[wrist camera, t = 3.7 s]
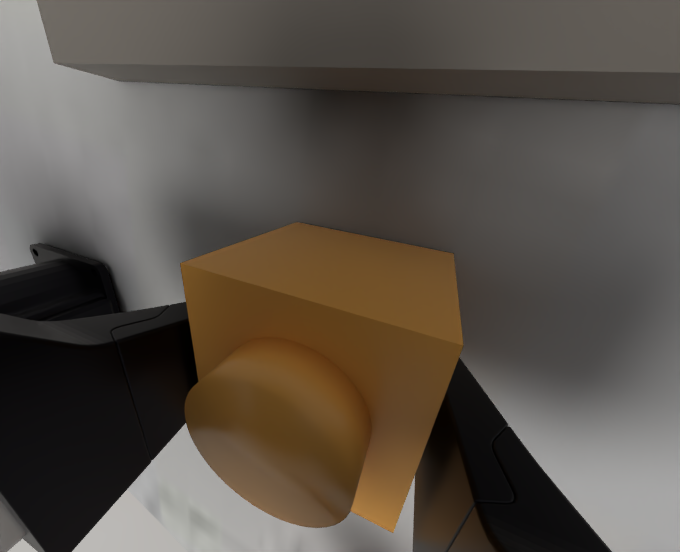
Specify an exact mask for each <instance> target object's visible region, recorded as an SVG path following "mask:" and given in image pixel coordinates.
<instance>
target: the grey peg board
mask: <svg viewBox="0 0 680 552" xmlns="http://www.w3.org/2000/svg"><path fill="white" fill-rule="evenodd" d="M37 3H38V7H39V11H40V14H41V18H42V21H43V25H44V29H45V32H46V36H47V40H48V43H49V47H50V51H51V54H52V58H53V61H54V63H55V64H59V65H63V66H66V67H70V68H73V69H77V70H81V71H84V72H88V73H92V74H95V75H99V76H103V77H106V78H110V79H114V80H117V81H131V82H155V83H180V84H204V85H228V86H253V87H277V88H302V89H326V90H350V91H375V92H399V93H423V94H448V95H472V96H497V97H521V98H545V99H570V100H594V101H619V102H643V103H667V104H680V0H37Z"/></svg>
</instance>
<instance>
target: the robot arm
mask: <svg viewBox="0 0 680 552" xmlns="http://www.w3.org/2000/svg"><path fill="white" fill-rule="evenodd" d="M30 250H31V253H32V255H33V258H34V260H35V263H36V264H33V265H29V266H24V267H20V268H16V269H11V270H7V271H2V272H0V552H7V551H8V550H9V549H11V548H12V547H13V546H14V545H15V544H16V543H18V542H19V541H20V540H21V539H22V538H23V539H24V540H25V541H26V542H27V543H29V544H30V545H31V546H32V547H33V548H34V549H36V550H37V551H38V552H72V551H73V550H74V548H75V547H76V546H77V545H78V544H79V543H80V542H81V540H82V539H83V538H84V537H85V536H86V535H87V534H88V533H89V531H90V530H91V529H92V528H93V527H94V526H95V525H96V524H97V522H98V521H99V520H100V519H101V518H102V517H103V516H104V515H105V513H106V512H107V511H108V510H109V509H110V508H111V507H112V506H113V504H114V503H115V502H116V501H117V500H118V499H119V497H121V495H122V494H123V493H124V492H125V491H126V490H127V489H128V488H129V486H130V485H131V484H132V483H133V482H134V481H135V480H136V479H137V477H138V476H139V475H140V474H141V473H142V472H143V471H144V470H145V468H146V467H147V466H148V465H149V464H150V463H151V460H153V459H154V458H155V457H156V456H157V455H158V454H159V452H160V451H161V450H162V449H163V448H164V447H165V446H166V445H167V443H168V442H169V441H170V440H171V439H172V438H173V437H174V436H175V434H176V433H177V432H178V431H179V430H180V429H181V428H182V427H183V425H184V424H185V423H186V420H185V412H184V410H185V401H186V397H187V395H188V393H189V391H190V390H191V389H192V387H193V386H194V385H196V384H197V383H198V375H197V369H196V362H195V356H194V349H193V343H192V337H191V330H190V324H189V317H188V311H187V304H186V302H183V303H177V304H172V305H170V306H169V305H166V306H160V307H155V308H149V309H143V310H137V311H130V312H123V313H120V312H119V309H118V305H117V302H116V298H115V294H114V291H113V287H112V284H111V280H110V277H109V273H108V270H107V269H106V267H105V266H104V265H103V264H102V263H100V262H97V261H94V260H91V259H88V258H85V257H82V256H79V255H75V254H72V253H69V252H66V251H63V250H60V249H57V248H54V247H51V246H48V245H45V244H42V243H38V244H33V245H30ZM413 552H612V551H611V550H610V549H609V548H608V547H607V545H606V544H605V543H604V542H603V541H602V540H601V538H600V537H599V536H598V535H597V534H596V532H595V531H594V530H593V529H592V528H591V527H590V525H589V524H588V523H587V522H586V521H585V519H584V518H583V517H582V516H581V515H580V514H579V512H578V511H577V510H576V509H575V508H574V506H573V505H572V504H571V503H570V502H569V501H568V499H567V498H566V497H565V496H564V495H563V493H562V492H561V491H560V490H559V489H558V487H557V486H556V485H555V484H554V483H553V481H552V480H551V479H550V478H549V476H548V475H547V474H546V473H545V472H544V470H543V469H542V468H541V467H540V466H539V464H538V463H537V462H536V460H535V459H534V458H533V457H532V455H531V454H530V453H529V451H528V450H527V449H526V447H525V446H524V445H523V443H522V442H521V441H520V439H519V438H518V437H517V435H516V434H515V433H514V431H513V430H512V428H511V427H509V426H508V423H507V422H506V420H505V419H504V418H503V416H502V415H501V414H500V412H499V411H498V409H497V408H496V407H495V405H494V404H493V403H492V401H491V400H490V399H489V397H488V396H487V394H486V393H485V392H484V390H483V389H482V388H481V386H480V385H479V383H478V382H477V381H476V379H475V378H474V377H473V375H472V374H471V372H470V371H469V370H468V368H467V367H466V366H465V364H464V363H463V361H462V360H461V359H460V357H459V359H458V362H457V364H456V367H455V369H454V372H453V375H452V377H451V380H450V383H449V385H448V388H447V391H446V393H445V396H444V399H443V401H442V404H441V407H440V409H439V412H438V415H437V417H436V420H435V423H434V425H433V428H432V431H431V433H430V436H429V438H428V441H427V444H426V446H425V449H424V452H423V454H422V457H421V460H420V462H419V465H418V468H417V470H416V473H415V496H414V528H413Z"/></svg>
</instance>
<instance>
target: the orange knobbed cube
mask: <svg viewBox="0 0 680 552" xmlns="http://www.w3.org/2000/svg"><path fill="white" fill-rule="evenodd" d="M180 266H181V272H182V279H183V285H184V291H185V298H186V304H187V311H188V317H189V324H190V330H191V337H192V343H193V349H194V356H195V362H196V369H197V375H198V383H197V384H196V385H194V386H193V387H192V389H191V390H190V391H189V393H188V395H187V397H186V401H185V410H184V412H185V420H186V424H187V428H188V430H189V433H190V436H191V438H192V440H193V442H194V444H195V446H196V447H197V449H198V451H199V452H200V454H201V455H202V457H203V458H204V460H205V461H206V462H207V463H208V465H209V466H210V467H211V468H212V470H213V471H214V472H215V473H216V474H217V475H218V476H219V477H220V478H221V479H222V480H223V481H224V482H225V483H226V484H227V485H228V486H229V487H230V488H231V489H233V490H234V491H235V492H236V493H237V494H239V495H240V496H241V497H242V498H244V499H245V500H247V501H248V502H250V503H251V504H252V505H254V506H256V507H257V508H259V509H261V510H262V511H264V512H266V513H268V514H270V515H272V516H274V517H276V518H278V519H281V520H283V521H286V522H289V523H292V524H296V525H299V526H305V527H313V528H322V527H329V526H333V525H335V524H337V523H340V522H341V521H342V520H344V519H345V518H346V517H347V515H348V514H349V513H350V511H351V512H353V513H355V514H357V515H359V516H361V517H363V518H365V519H367V520H369V521H371V522H373V523H375V524H377V525H379V526H380V527H382V528H384V529H386V530H388V531H390V532H392V533H393V531H394V529H395V526H396V523H397V521H398V518H399V515H400V513H401V510H402V508H403V505H404V502H405V500H406V497H407V494H408V492H409V489H410V486H411V484H412V481H413V478H414V476H415V473H416V470H417V468H418V465H419V462H420V460H421V457H422V454H423V452H424V449H425V446H426V444H427V441H428V438H429V436H430V433H431V431H432V428H433V425H434V423H435V420H436V417H437V415H438V412H439V409H440V407H441V404H442V401H443V399H444V396H445V393H446V391H447V388H448V385H449V383H450V380H451V377H452V375H453V372H454V369H455V367H456V364H457V362H458V359H459V356H460V354H461V351H462V348H463V346H464V345H463V336H462V327H461V318H460V308H459V299H458V290H457V280H456V271H455V262H454V253H449V252H444V251H439V250H434V249H429V248H424V247H419V246H414V245H409V244H404V243H399V242H394V241H389V240H384V239H379V238H374V237H369V236H364V235H359V234H354V233H349V232H344V231H339V230H334V229H329V228H324V227H319V226H314V225H309V224H304V223H299V222H296V223H293V224H290V225H287V226H284V227H281V228H279V229H276V230H273V231H270V232H267V233H264V234H262V235H259V236H256V237H253V238H250V239H247V240H244V241H242V242H239V243H236V244H233V245H230V246H227V247H225V248H222V249H219V250H216V251H213V252H210V253H207V254H205V255H202V256H199V257H196V258H193V259H190V260H188V261H185V262H182V263H180Z"/></svg>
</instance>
